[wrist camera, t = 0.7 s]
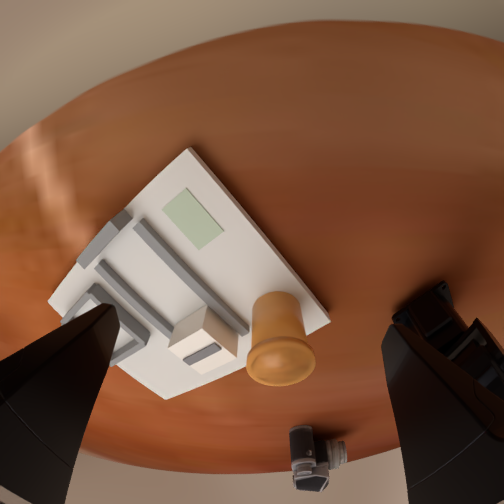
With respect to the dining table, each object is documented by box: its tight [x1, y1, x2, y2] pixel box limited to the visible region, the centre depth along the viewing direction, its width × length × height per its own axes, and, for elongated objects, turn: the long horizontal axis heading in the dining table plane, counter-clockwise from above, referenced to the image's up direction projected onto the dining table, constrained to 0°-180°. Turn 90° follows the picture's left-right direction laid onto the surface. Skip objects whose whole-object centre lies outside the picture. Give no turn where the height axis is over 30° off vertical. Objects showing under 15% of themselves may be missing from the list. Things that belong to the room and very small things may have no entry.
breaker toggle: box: [167, 305, 239, 375], centre depth 22 cm, size 4×4×3 cm
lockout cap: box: [246, 291, 316, 386], centre depth 20 cm, size 5×5×6 cm
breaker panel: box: [48, 147, 331, 400], centre depth 23 cm, size 18×22×4 cm
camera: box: [289, 425, 347, 492], centre depth 33 cm, size 16×8×10 cm, turn 11°
